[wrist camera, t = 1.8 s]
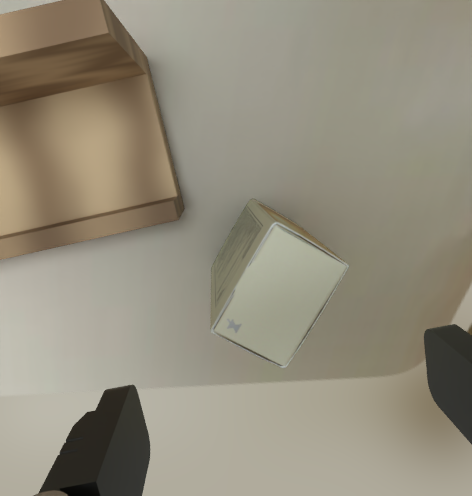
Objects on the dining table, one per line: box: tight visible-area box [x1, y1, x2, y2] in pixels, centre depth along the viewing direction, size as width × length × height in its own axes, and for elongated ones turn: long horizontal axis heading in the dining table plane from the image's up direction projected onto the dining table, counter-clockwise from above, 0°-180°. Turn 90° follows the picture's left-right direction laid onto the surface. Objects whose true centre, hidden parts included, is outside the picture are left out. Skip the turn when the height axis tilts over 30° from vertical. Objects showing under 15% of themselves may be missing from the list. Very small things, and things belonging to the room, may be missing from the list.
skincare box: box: [211, 199, 349, 368], centre depth 26 cm, size 6×4×12 cm
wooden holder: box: [0, 0, 184, 260], centre depth 24 cm, size 15×10×12 cm
